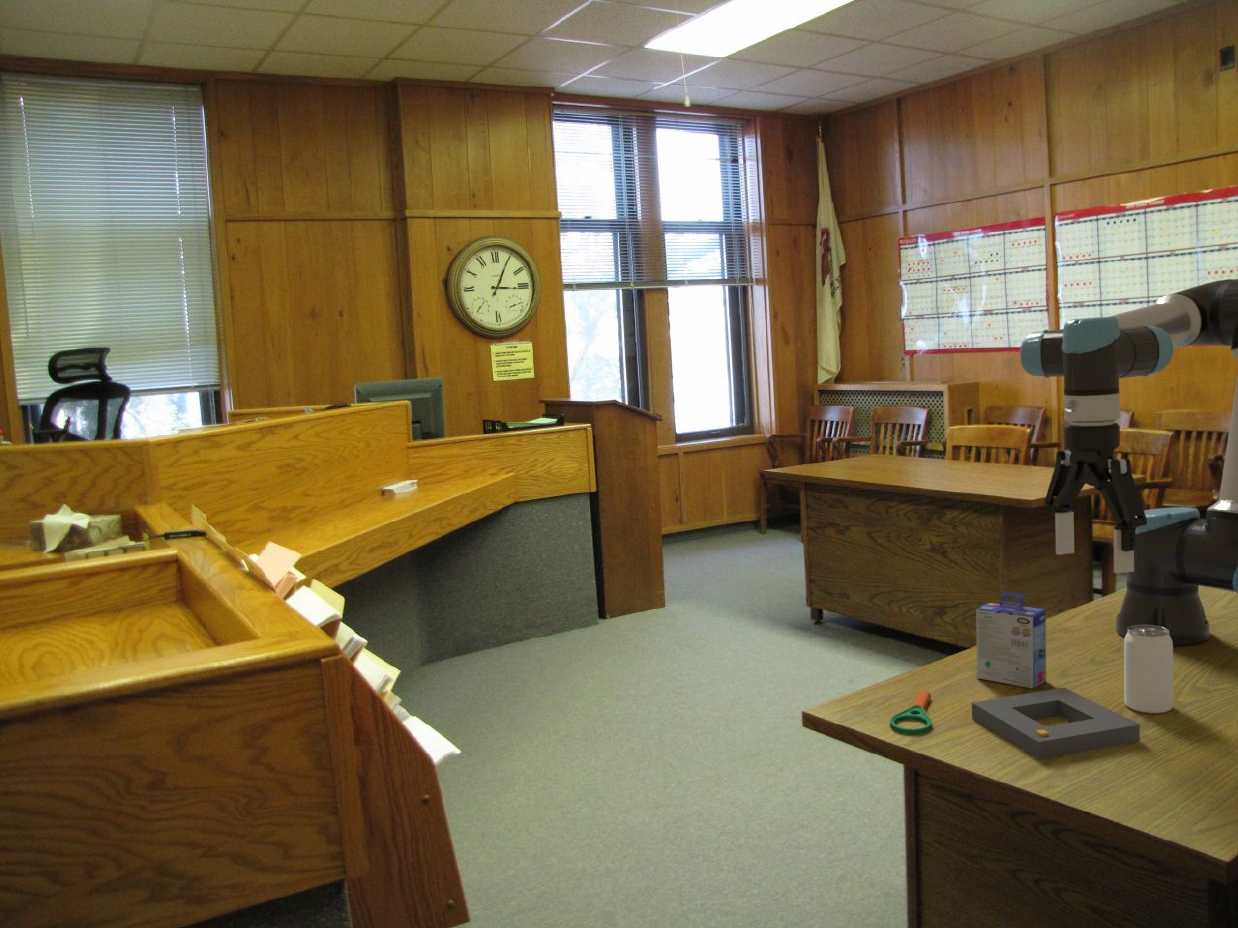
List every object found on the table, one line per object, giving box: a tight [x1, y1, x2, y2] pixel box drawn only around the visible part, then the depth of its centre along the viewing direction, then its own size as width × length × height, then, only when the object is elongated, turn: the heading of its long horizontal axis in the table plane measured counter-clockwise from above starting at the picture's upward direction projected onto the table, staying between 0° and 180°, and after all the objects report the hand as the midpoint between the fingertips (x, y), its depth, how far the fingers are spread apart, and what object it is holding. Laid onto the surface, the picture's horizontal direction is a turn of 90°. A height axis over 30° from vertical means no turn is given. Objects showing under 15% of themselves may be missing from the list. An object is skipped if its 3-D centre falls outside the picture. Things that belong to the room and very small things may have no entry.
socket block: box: [971, 687, 1141, 760], centre depth 147 cm, size 16×16×3 cm
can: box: [1123, 625, 1174, 715], centre depth 153 cm, size 6×6×12 cm
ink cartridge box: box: [975, 591, 1047, 689], centre depth 167 cm, size 10×6×14 cm, turn 46°
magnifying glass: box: [889, 690, 933, 736], centre depth 156 cm, size 15×6×2 cm, turn 153°
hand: (1093, 562), depth 153 cm, fingers open, 13 cm apart
